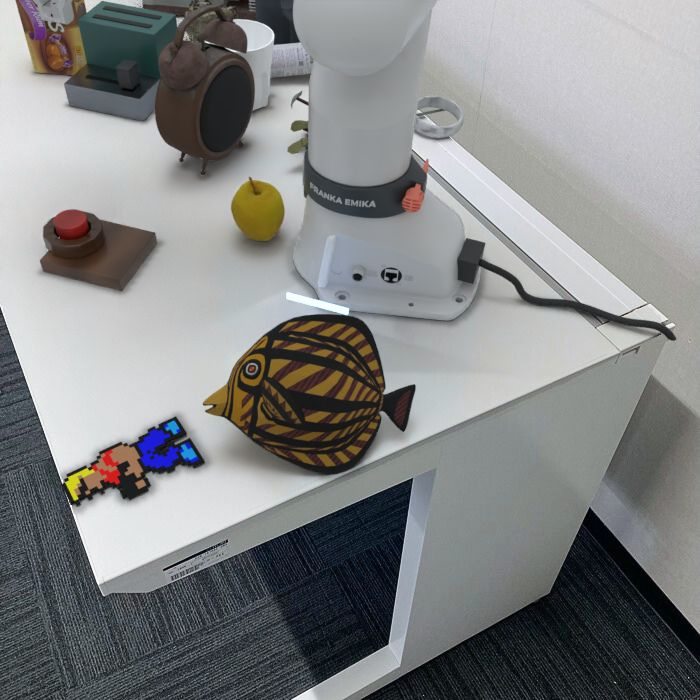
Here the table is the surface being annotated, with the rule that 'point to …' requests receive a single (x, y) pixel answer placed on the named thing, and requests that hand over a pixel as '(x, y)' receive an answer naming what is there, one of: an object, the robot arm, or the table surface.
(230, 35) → the alarm clock
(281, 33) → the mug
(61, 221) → the button
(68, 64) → the candy box
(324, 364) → the decorative fish sculpture
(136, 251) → the block
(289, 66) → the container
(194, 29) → the rock
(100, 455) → the pixel art figurine
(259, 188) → the apple
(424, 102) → the ring
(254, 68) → the cup
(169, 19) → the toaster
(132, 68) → the slider
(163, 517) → the table surface
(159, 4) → the model house
